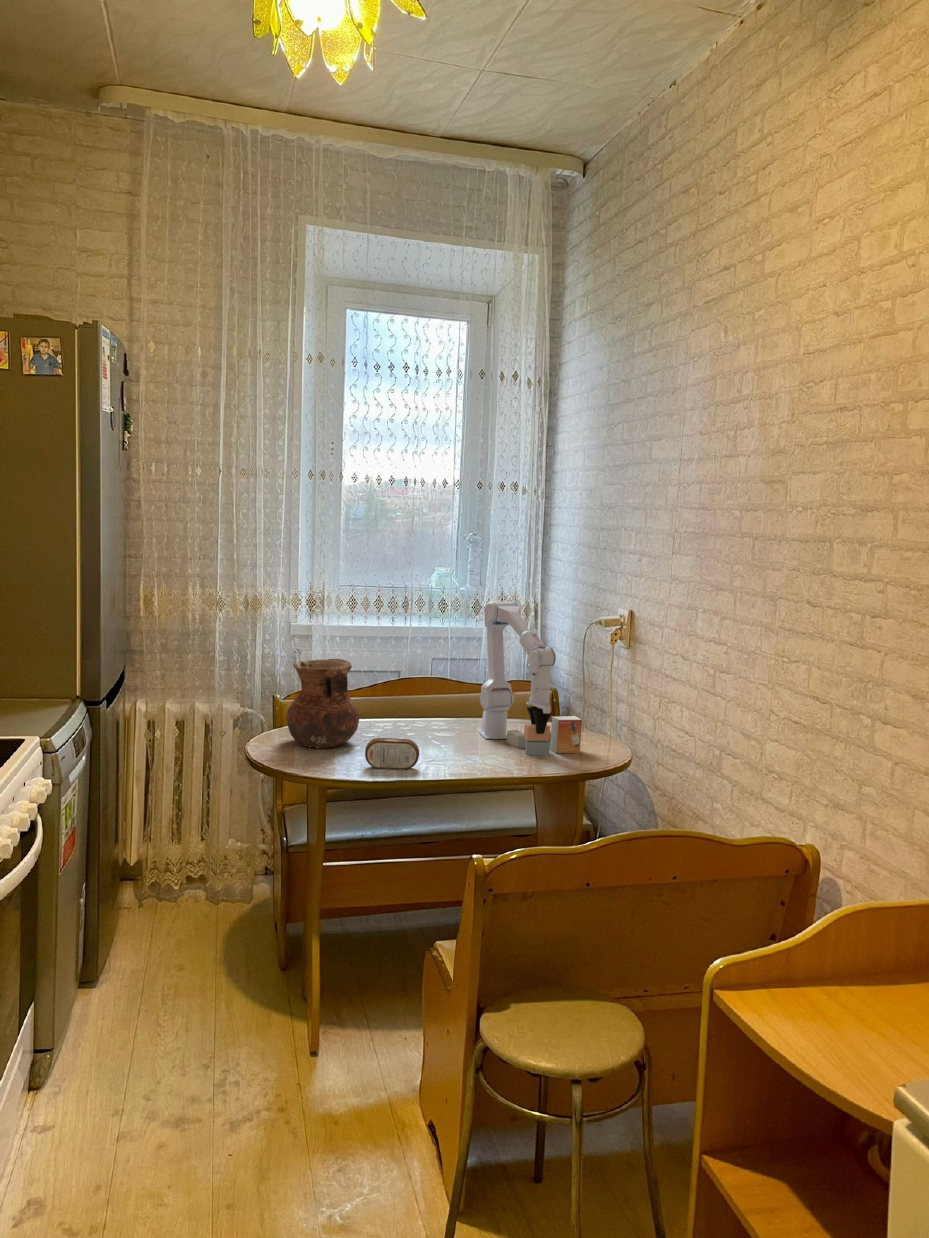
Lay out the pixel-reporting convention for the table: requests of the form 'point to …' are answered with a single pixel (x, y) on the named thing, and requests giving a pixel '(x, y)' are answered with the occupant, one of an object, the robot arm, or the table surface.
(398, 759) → the tin
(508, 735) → the grey brick
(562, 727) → the small box
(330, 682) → the jug
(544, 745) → the slate brick
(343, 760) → the table surface
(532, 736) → the terracotta brick
